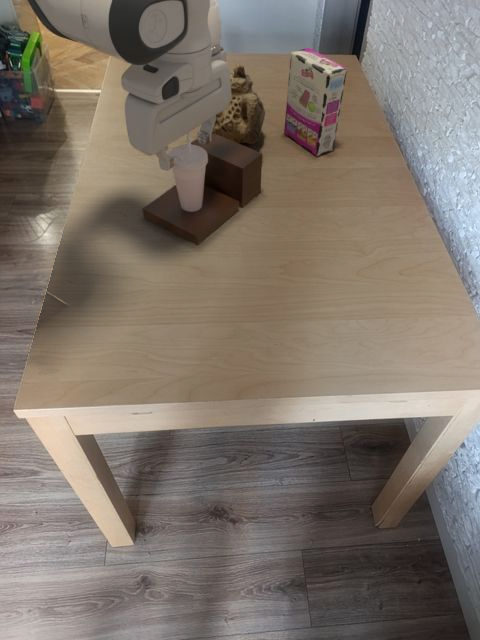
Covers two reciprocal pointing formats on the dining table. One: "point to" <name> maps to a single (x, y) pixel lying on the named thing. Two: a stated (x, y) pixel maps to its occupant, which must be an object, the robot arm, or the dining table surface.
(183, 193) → the smoothie
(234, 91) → the teapot
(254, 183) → the step shelf
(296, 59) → the candy bar box
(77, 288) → the dining table surface
